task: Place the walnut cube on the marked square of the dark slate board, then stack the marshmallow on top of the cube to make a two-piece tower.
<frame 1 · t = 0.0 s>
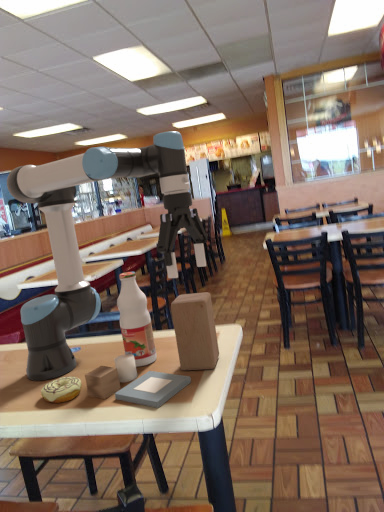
hand: (188, 271, 113), 28 cm above the table, tool pointing down, fingers open, 13 cm apart
decorated donut: (63, 396, 114), on the table
marshmallow: (127, 377, 119), on the table
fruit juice: (142, 361, 131), on the table
wooden block: (200, 364, 122), on the table
slate board: (153, 390, 109), on the table
walnut cube: (104, 392, 112), on the table
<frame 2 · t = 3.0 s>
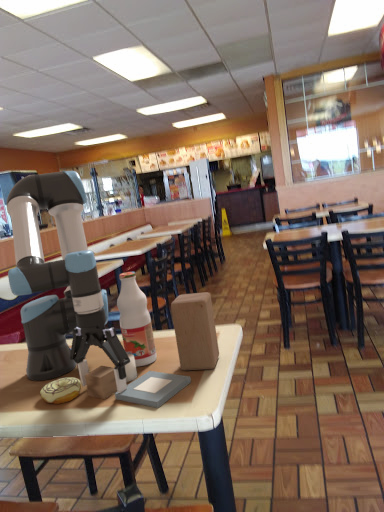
hand: (104, 387, 111), 1 cm above the table, tool pointing down, fingers open, 13 cm apart
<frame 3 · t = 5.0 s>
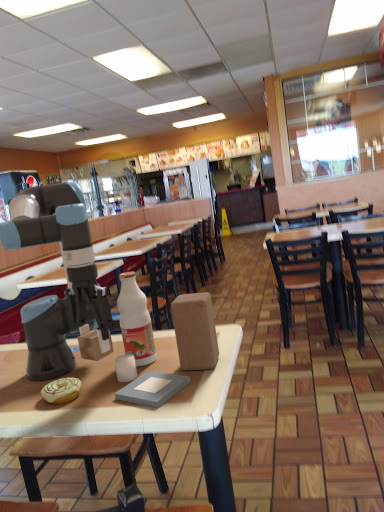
hand: (96, 349, 111), 12 cm above the table, tool pointing down, fingers closed on walnut cube, 6 cm apart
walnut cube: (97, 355, 111), point 10 cm above the table, touching gripper
everything else where it was.
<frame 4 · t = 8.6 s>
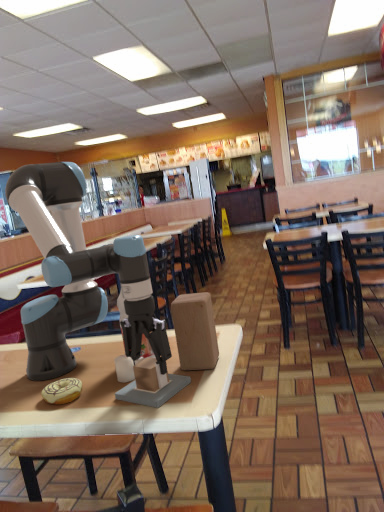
hand: (153, 383, 108), 2 cm above the table, tool pointing down, fingers closed on walnut cube, 6 cm apart
walnut cube: (153, 384, 108), point 2 cm above the table, touching gripper, slate board
when the fingers open (2 cm above the table, at t = 8.9 s): walnut cube stays where it is, resting on slate board.
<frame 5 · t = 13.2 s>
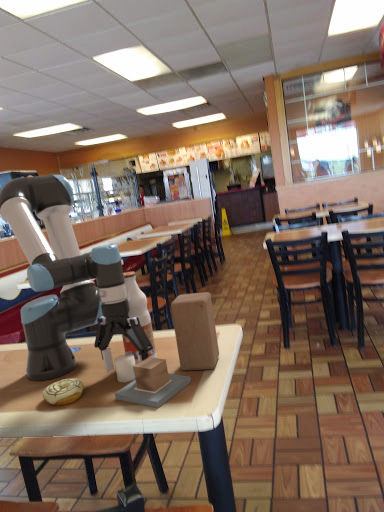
hand: (127, 373, 119), 1 cm above the table, tool pointing down, fingers open, 13 cm apart
walnut cube: (153, 384, 108), point 2 cm above the table, touching slate board
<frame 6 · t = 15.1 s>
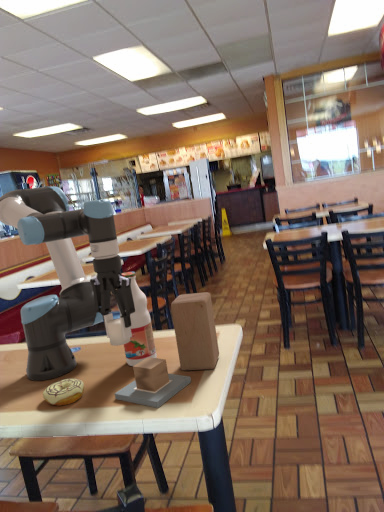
hand: (119, 336, 118), 12 cm above the table, tool pointing down, fingers closed on marshmallow, 5 cm apart
marshmallow: (120, 341, 118), point 11 cm above the table, touching gripper
when the fingers open (8 cm above the table, at t = 18.7 s): marshmallow stays where it is, resting on walnut cube.
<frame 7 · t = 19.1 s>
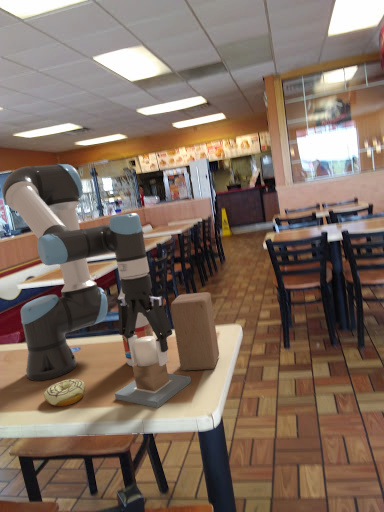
hand: (150, 362, 107), 8 cm above the table, tool pointing down, fingers open, 8 cm apart
marshmallow: (148, 362, 108), point 8 cm above the table, touching walnut cube
walnut cube: (153, 384, 108), point 2 cm above the table, touching marshmallow, slate board
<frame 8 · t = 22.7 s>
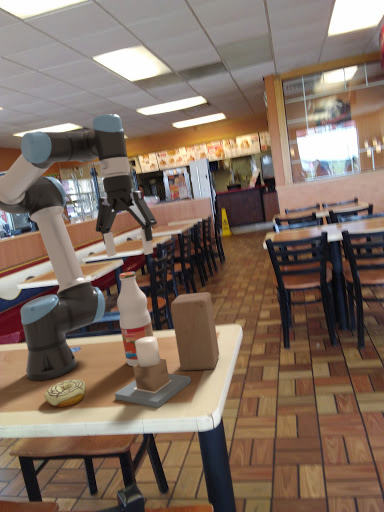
hand: (129, 255, 114), 35 cm above the table, tool pointing down, fingers open, 13 cm apart
at the end: walnut cube inside the target area (0.2 cm from its centre), point 1.6 cm above the table; marshmallow 0.1 cm off-centre on the walnut cube, point 6.0 cm above the walnut cube's base; marshmallow tilted 0° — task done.
